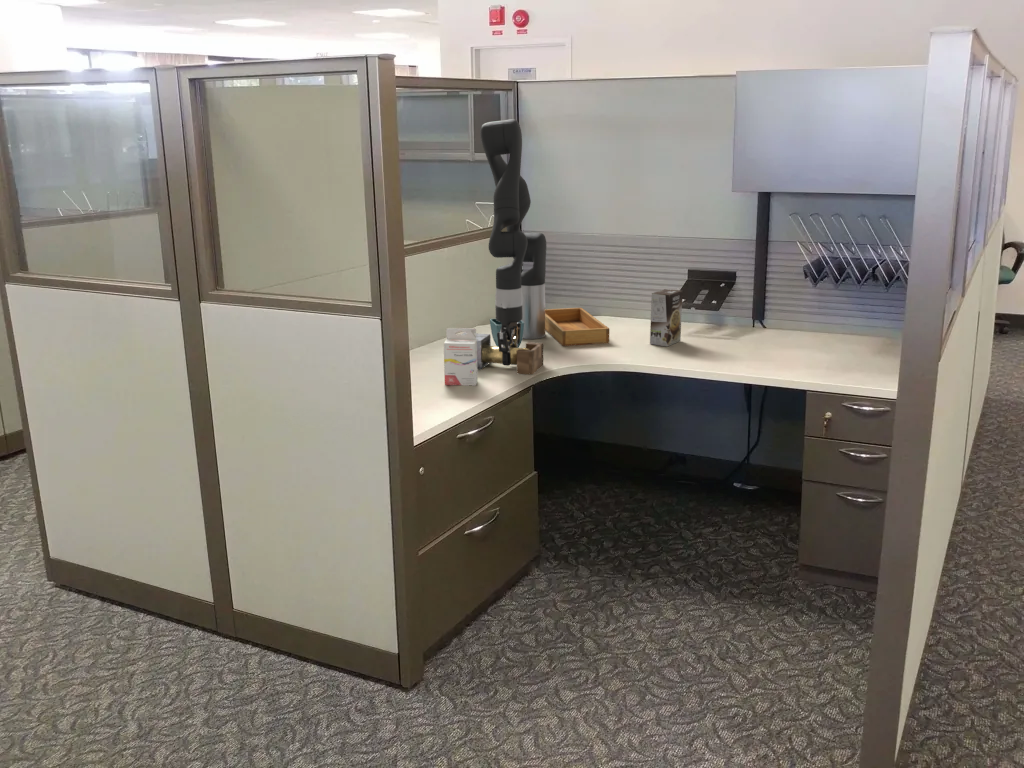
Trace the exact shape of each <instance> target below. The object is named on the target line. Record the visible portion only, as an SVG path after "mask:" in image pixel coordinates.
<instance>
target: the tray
mask: <svg viewBox="0 0 1024 768" xmlns="http://www.w3.org/2000/svg"><path fill="white" fill-rule="evenodd" d="M545 332H547V333H548V334H549V335H550V336H551V337H552V338H553V339H554V340H556V342H558V344H560V345H561V346H562V347H570V346H571V347H572V346H574V345H575V346H584V345H585V346H586V345H600V344H601V345H602V344H609V343H610V328H609V327H608V326H607V325H605V324H604V323H602V322H601V321H600V320H599V319H597V318H596V317H594V316H593V315H592V314H591V313H589V312H588V311H587V310H585V309H583V308H582V307H568V308H567V307H565V308H563V307H562V308H549V309H546V308H545Z"/></svg>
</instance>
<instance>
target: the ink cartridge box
mask: <svg viewBox="0 0 1024 768" xmlns="http://www.w3.org/2000/svg"><path fill="white" fill-rule="evenodd" d="M445 330H446V332H445V333H446V339H445V341H444V342H443V366H444V367H443V368H444V369H443V371H444V386H469V385H472V386H477V383H478V369H477V340H476V333H477V329H476V328H473V327H472V328H470V327H469V328H468V327H466V328H465V327H464V328H463V327H447V328H445ZM460 332H462V333H466V335H461V334H459V333H460Z"/></svg>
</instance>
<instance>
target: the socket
mask: <svg viewBox="0 0 1024 768" xmlns="http://www.w3.org/2000/svg"><path fill="white" fill-rule="evenodd" d="M525 348H528V349H530V350H523V349H519V350H517V365H516V374H517V375H518V374H519V375H527V376H528V375H530V376H531V375H534V374H535V373H536V372H538V370H540V369H541V368H542V367H543V366H544V342H533V341H532V342H531V341H530V342H529V341H528V342H526V343H525Z"/></svg>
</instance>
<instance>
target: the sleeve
mask: <svg viewBox="0 0 1024 768" xmlns="http://www.w3.org/2000/svg"><path fill="white" fill-rule="evenodd" d="M460 335H466V332H462V333H461V334H460ZM476 340H477V370H480V369H482V368H483V367H484V366H486V365H487V364H488V363H485V362H482V345H483V346H492V345H491V341H492V340H491V333H490V334H489V333H479V332H478V333H477V332H476ZM488 365H489V364H488ZM488 365H487V366H488ZM487 366H486V367H487ZM484 368H485V367H484ZM484 368H483V369H484ZM483 369H482V370H483Z"/></svg>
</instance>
